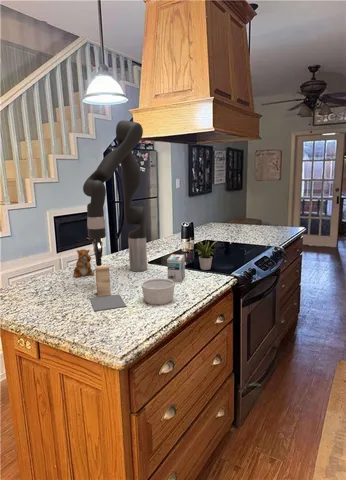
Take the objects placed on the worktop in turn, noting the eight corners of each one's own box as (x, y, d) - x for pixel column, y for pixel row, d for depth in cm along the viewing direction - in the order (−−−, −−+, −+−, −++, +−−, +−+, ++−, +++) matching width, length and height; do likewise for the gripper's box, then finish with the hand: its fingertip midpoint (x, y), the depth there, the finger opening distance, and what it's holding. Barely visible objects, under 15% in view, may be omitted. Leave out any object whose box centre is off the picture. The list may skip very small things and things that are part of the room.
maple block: (97, 293, 145) (95, 266, 143) (108, 292, 147) (107, 265, 144) (98, 297, 141) (96, 269, 138) (110, 295, 142) (109, 268, 140)
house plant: (185, 270, 176) (185, 239, 173) (194, 264, 189) (194, 235, 186) (212, 273, 171) (212, 241, 168) (219, 266, 184) (219, 236, 181)
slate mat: (90, 298, 139) (90, 298, 139) (119, 294, 143) (119, 294, 143) (94, 311, 126) (94, 310, 126) (126, 306, 130) (126, 305, 130)
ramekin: (163, 308, 128) (162, 290, 127) (135, 302, 135) (134, 285, 133) (181, 297, 139) (180, 281, 138) (154, 292, 146) (154, 276, 144)
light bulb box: (181, 282, 158) (181, 259, 156) (167, 281, 159) (166, 259, 157) (185, 275, 168) (185, 254, 166) (171, 275, 170) (171, 254, 168)
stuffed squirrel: (73, 278, 167) (71, 252, 164) (73, 271, 180) (71, 246, 177) (94, 276, 170) (93, 250, 167) (92, 269, 183) (90, 245, 180)
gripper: (107, 228, 143) (109, 268, 146) (103, 224, 155) (105, 261, 158) (89, 229, 141) (91, 270, 144) (86, 225, 153) (88, 263, 156)
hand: (98, 265), depth 151 cm, fingers closed
